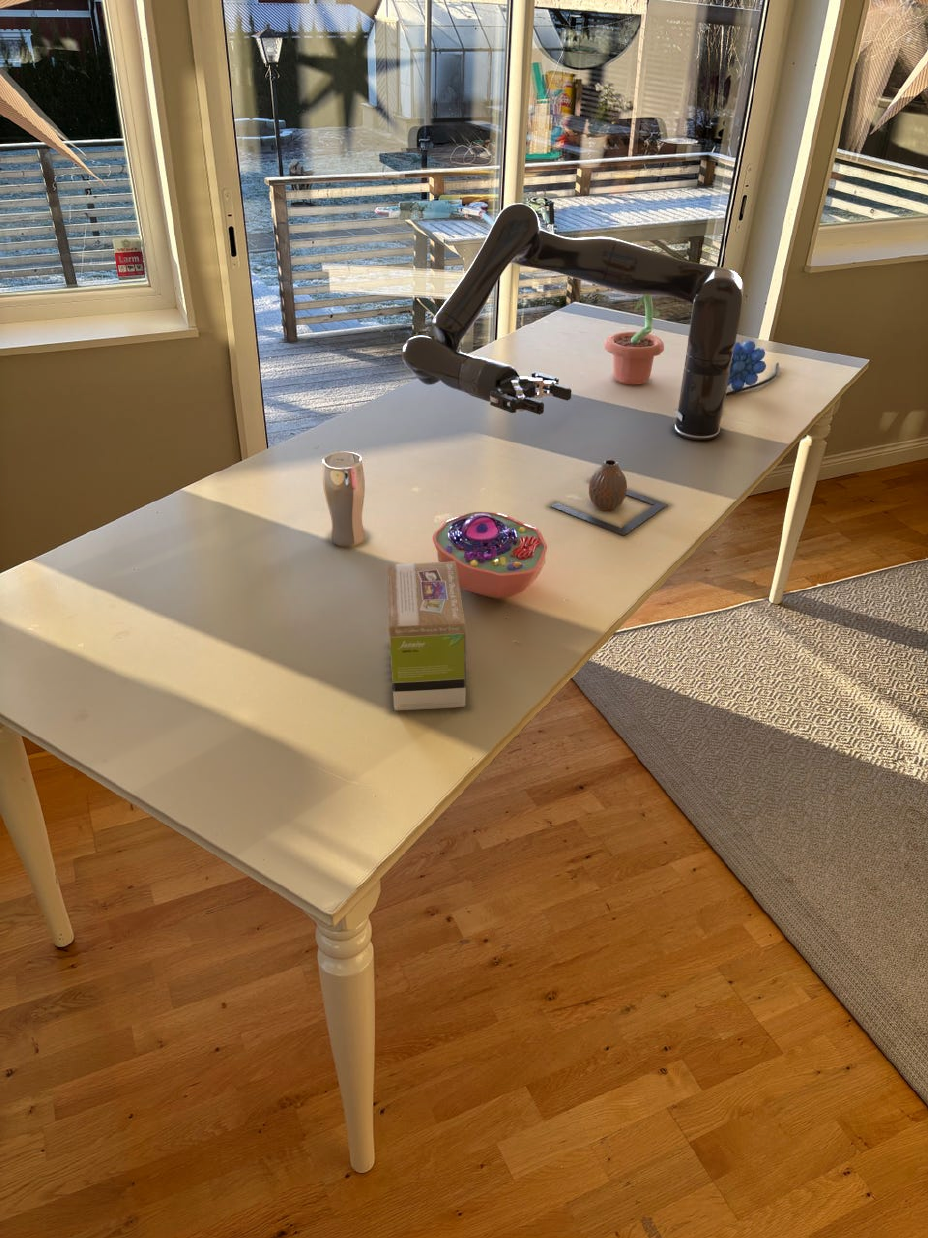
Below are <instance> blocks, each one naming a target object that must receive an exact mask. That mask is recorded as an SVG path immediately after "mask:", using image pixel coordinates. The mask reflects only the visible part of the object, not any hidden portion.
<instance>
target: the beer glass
mask: <svg viewBox="0 0 928 1238" xmlns="http://www.w3.org/2000/svg"><path fill="white" fill-rule="evenodd" d="M365 480H366V479H365V471H364V464H363V458H362V456H361V455H360V454H358V453H355V452H352V451H336V452H335V451H334V452H331V453H329V454H327V455H326V456H324V457H323V458H322V487H323V493H324V497H325V502H326V505H327V509H328V513H329V516H330V520H331V521H330V522H331V530H330V541H331V543H332V544H334V545H336V546H338V547H343V548H351V547H355V546H358V545H361V544H362V543H363V542H364V541H365V540H366V532H365V528H364V524H363V511H364V510H363V509H364V503H365V494H366V493H365V492H366V481H365Z"/></svg>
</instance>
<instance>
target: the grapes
mask: <svg viewBox="0 0 928 1238" xmlns="http://www.w3.org/2000/svg"><path fill="white" fill-rule="evenodd" d="M765 356H766V351H765V349H764V348H762V347H757V348H756V344H755V342H754V341H752V340H746V341H745V342H743V344H741V343H740V342H737V341H736V342H735V347H734V352H733V357H732V362H731V368H730V374H729V379H728V385H727V387H729V386H730V387H731V389H732V391H734V390H737V389H740V388H743V387H745V385H746V386H751V385H754V384H757V383H758V380H759V375H760V374H762V373H764V371H765V370H766V368H767V364H766V362H765V361H764V360H763V359H764V358H765Z"/></svg>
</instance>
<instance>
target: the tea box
mask: <svg viewBox="0 0 928 1238" xmlns="http://www.w3.org/2000/svg"><path fill="white" fill-rule="evenodd" d="M387 604H388V605H387V607H388V608H387V609H388V611H387V612H388V635H389V636H388V637H389V652H390V666H391V670H390V671H391V683H392V685H391V686H392V695H393V696H392V697H393V708H394V710H395V711H397V712H399V711H415V710H434V709H436V710H437V709H451V708H452V709H453V708H463V707H465V706H466V621H465V614H464V607H463V601H462V594H461V589H460V586H459V579H458V572H457V566H456V562H455V561H449V562H439V561H433V562H418V563H417V562H416V563H395V564H390V563H388V564H387Z"/></svg>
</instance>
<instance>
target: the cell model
mask: <svg viewBox="0 0 928 1238" xmlns="http://www.w3.org/2000/svg"><path fill="white" fill-rule="evenodd" d="M432 543H433V545H434V547H435V549H436V553H437V560H438V561H437V562H449V561H455V562H456V566H457V572H458V579H459V586H460V590H463V591H467V592H471V593H474V594H477V595H480V596H484V597H488V598H490V599H495V600H502V599H507V598H510V597H513V596H516V595H518V594H521V593H523V592H524V591H526V589H527V588H529V587H530V586H532V585H533V584H534V582H535V581H536V580H537V579H538V576H539V575H540V574H541V571H542V569H543V567H544V565H545V563H546V553H547V551H548V545H547V542H546V541H545V539H544V537H543V534H542V532H541V531H540V529H538V528H537V527H535V526H532V525H529V524H527V523H525V522H522V521H519V520H517V519H515V518H513V517H511V516H509V515H507V514H503V513H498V512H492V511H474V512H467V513H464V514H461V515H458V516H455V517H452V518H450V519H448V520H446V521H444V523H443V524H442V525H441V526H440V527H439V528H438V529H437V530H435V532H434V533H433V535H432Z"/></svg>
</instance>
